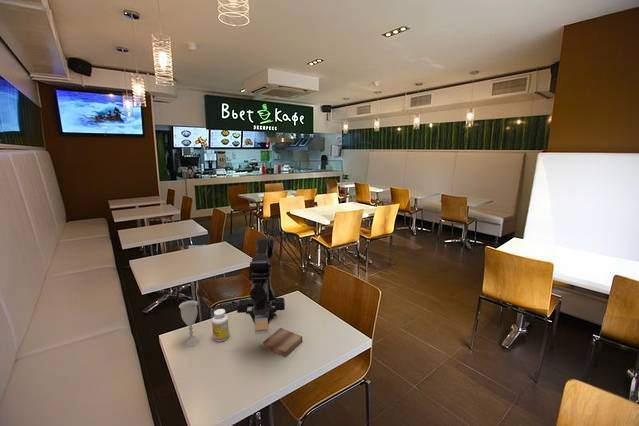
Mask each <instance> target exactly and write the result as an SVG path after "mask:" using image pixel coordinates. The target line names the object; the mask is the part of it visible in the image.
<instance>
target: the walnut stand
mask: <svg viewBox="0 0 639 426" xmlns="http://www.w3.org/2000/svg"><path fill="white" fill-rule="evenodd" d="M302 342H303V336H302V335H301V334H298V333H295V332H292V331H290V330H287V329H285V328H282V327H280V328H278V329H277V330H276V331H275V332H273V333H272V334H271V335H270V336H268V337H267V338H266V339H264V340H263V341H262V347H263V348H264V349H266V350H269V351H271V352H273V353H275V354H278V355H280V356H282V357H284V358H287V356H289V355H290V354H291V353H292V352H293V351H294V350H295V349H296V348H297V347H298V346H299V345H301V343H302Z"/></svg>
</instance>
